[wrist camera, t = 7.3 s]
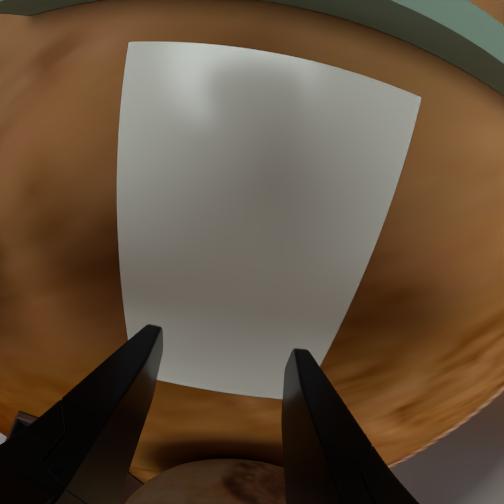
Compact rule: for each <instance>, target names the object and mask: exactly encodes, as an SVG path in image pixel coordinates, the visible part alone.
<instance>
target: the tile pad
mask: <svg viewBox="0 0 504 504" xmlns="http://www.w3.org/2000/svg"><path fill="white" fill-rule="evenodd" d="M420 102H421V97H419V96H417V95H415V94H412V93H410V92H407V91H405V90H402V89H400V88H397V87H395V86H392V85H389V84H387V83H384V82H381V81H378V80H375V79H372V78H369V77H366V76H363V75H360V74H357V73H354V72H351V71H347V70H344V69H341V68H337V67H334V66H330V65H326V64H322V63H318V62H314V61H310V60H306V59H302V58H297V57H293V56H288V55H283V54H278V53H272V52H267V51H261V50H254V49H248V48H240V47H232V46H224V45H214V44H202V43H186V42H129V44H128V51H127V57H126V64H125V71H124V79H123V87H122V97H121V107H120V119H119V134H118V154H117V229H118V249H119V264H120V277H121V288H122V297H123V306H124V314H125V322H126V329H127V336H128V340H129V339H130V338H132V337H133V336H134V335H135V334H136V333H137V332H139V331H140V330H141V329H142V328H143V327H144V326H146V325H147V324H152V325H157V326H160V327H162V329H163V353H162V358H161V362H160V367H159V371H158V376H157V380H160V381H165V382H170V383H174V384H179V385H184V386H190V387H195V388H201V389H206V390H212V391H219V392H225V393H232V394H239V395H247V396H256V397H265V398H275V399H283V386H284V371H285V367H286V364H287V361H288V359H289V357H290V354H291V352H292V350H293V349H294V348H300V349H307V350H309V352H310V353H311V354H312V356H313V357H314V359H315V360H316V362H317V363H318V365H319V366H320V365H321V363H322V361H323V359H324V357H325V355H326V354H327V352H328V350H329V348H330V346H331V344H332V342H333V340H334V338H335V336H336V334H337V332H338V329H339V327H340V325H341V323H342V321H343V319H344V317H345V315H346V313H347V310H348V308H349V306H350V304H351V302H352V299H353V297H354V295H355V293H356V291H357V288H358V286H359V284H360V281H361V279H362V277H363V274H364V272H365V270H366V267H367V265H368V262H369V260H370V257H371V255H372V252H373V250H374V247H375V245H376V242H377V240H378V237H379V234H380V232H381V229H382V226H383V224H384V221H385V218H386V215H387V213H388V210H389V207H390V204H391V201H392V198H393V195H394V192H395V189H396V186H397V183H398V180H399V177H400V174H401V171H402V168H403V164H404V161H405V158H406V154H407V151H408V148H409V144H410V140H411V137H412V133H413V130H414V126H415V122H416V118H417V114H418V110H419V106H420Z"/></svg>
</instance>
